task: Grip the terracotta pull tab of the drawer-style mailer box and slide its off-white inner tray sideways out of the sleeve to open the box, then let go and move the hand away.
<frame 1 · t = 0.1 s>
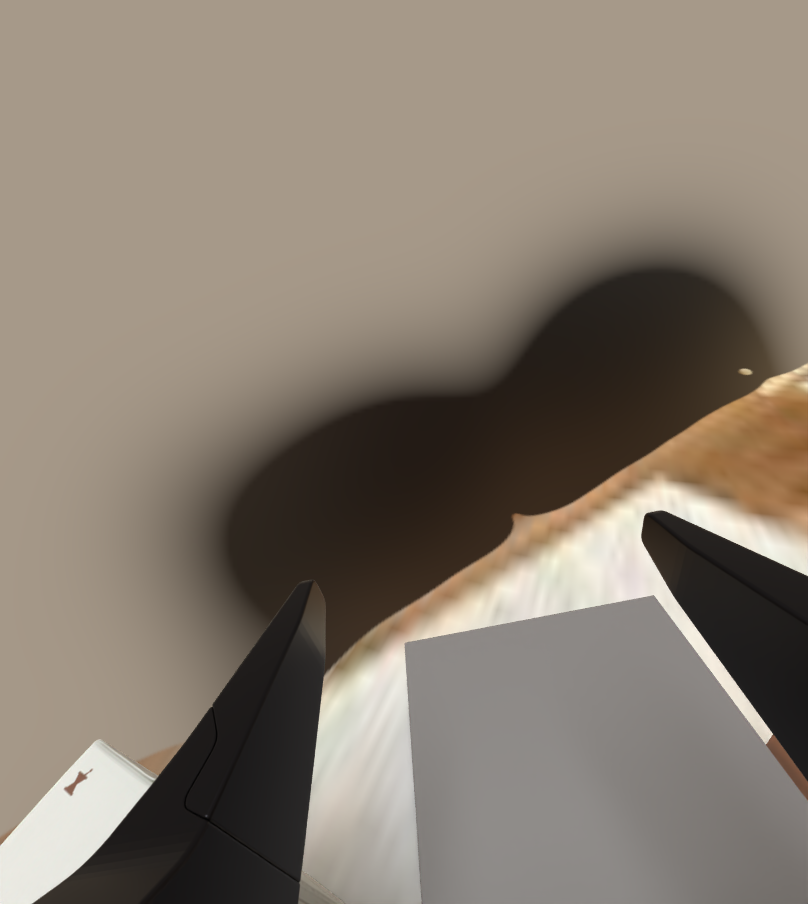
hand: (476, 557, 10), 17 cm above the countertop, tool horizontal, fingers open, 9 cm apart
mailer sleeve: (587, 843, 17), on the countertop
tray: (645, 800, 14), point 5 cm above the countertop, slide at 0.0 cm
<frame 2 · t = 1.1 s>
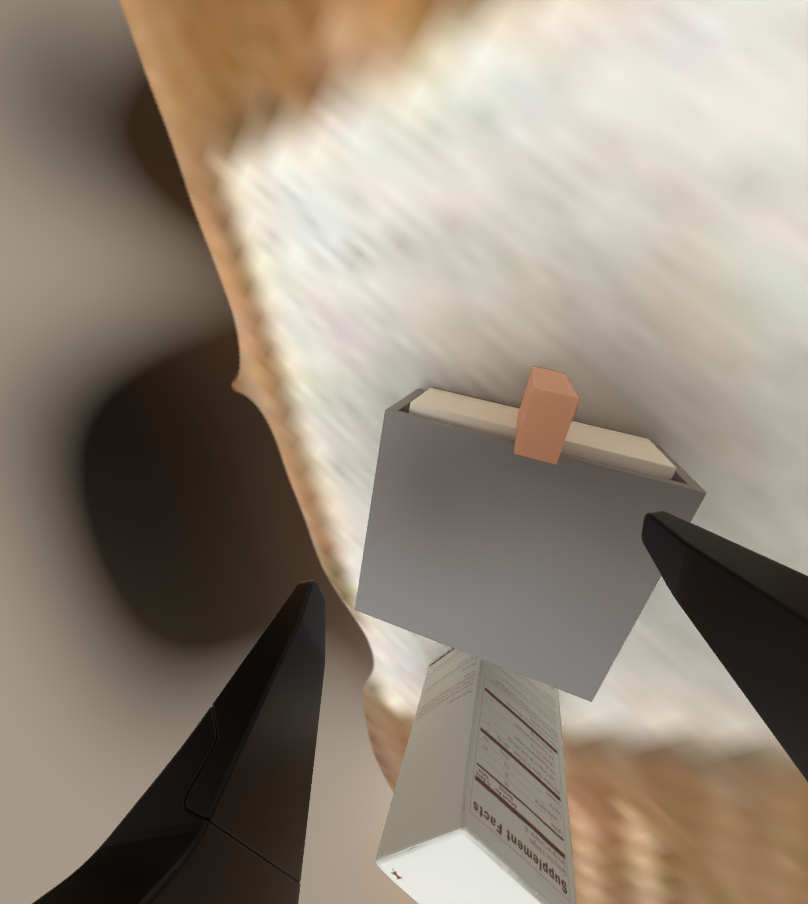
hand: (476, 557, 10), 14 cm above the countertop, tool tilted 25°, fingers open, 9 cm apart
mailer sleeve: (501, 509, 25), on the countertop
supplement box: (490, 674, 30), on the countertop
tray: (505, 517, 20), point 5 cm above the countertop, slide at 0.0 cm
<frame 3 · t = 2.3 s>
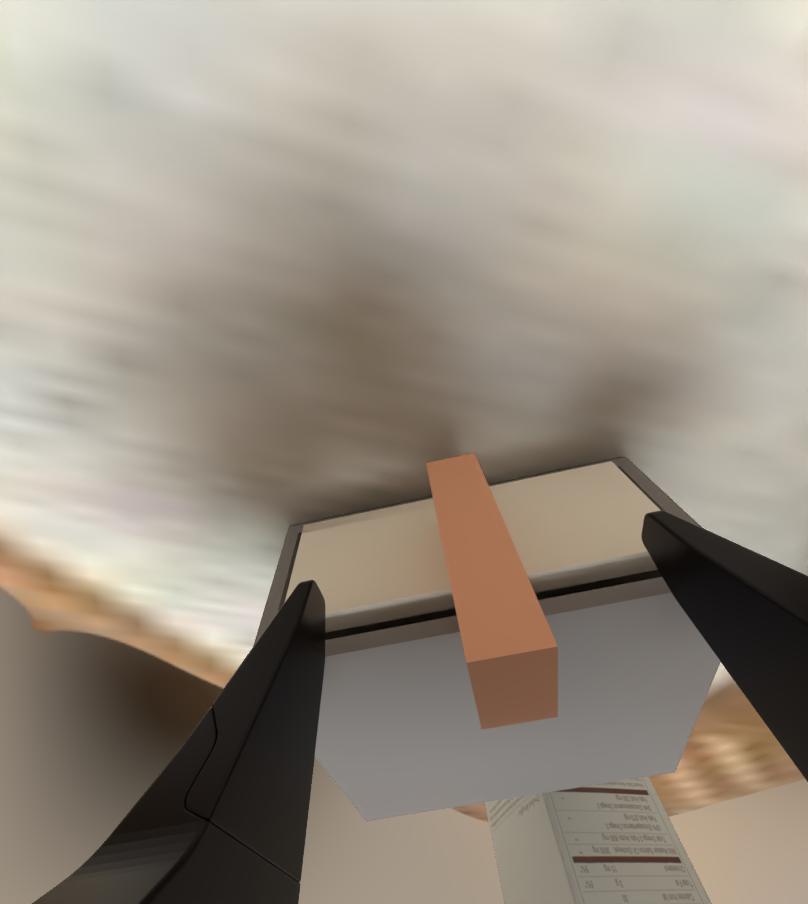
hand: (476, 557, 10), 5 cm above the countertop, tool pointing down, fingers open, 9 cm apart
mailer sleeve: (471, 593, 19), on the countertop
supplement box: (537, 715, 26), on the countertop
tray: (491, 662, 14), point 5 cm above the countertop, slide at 0.0 cm
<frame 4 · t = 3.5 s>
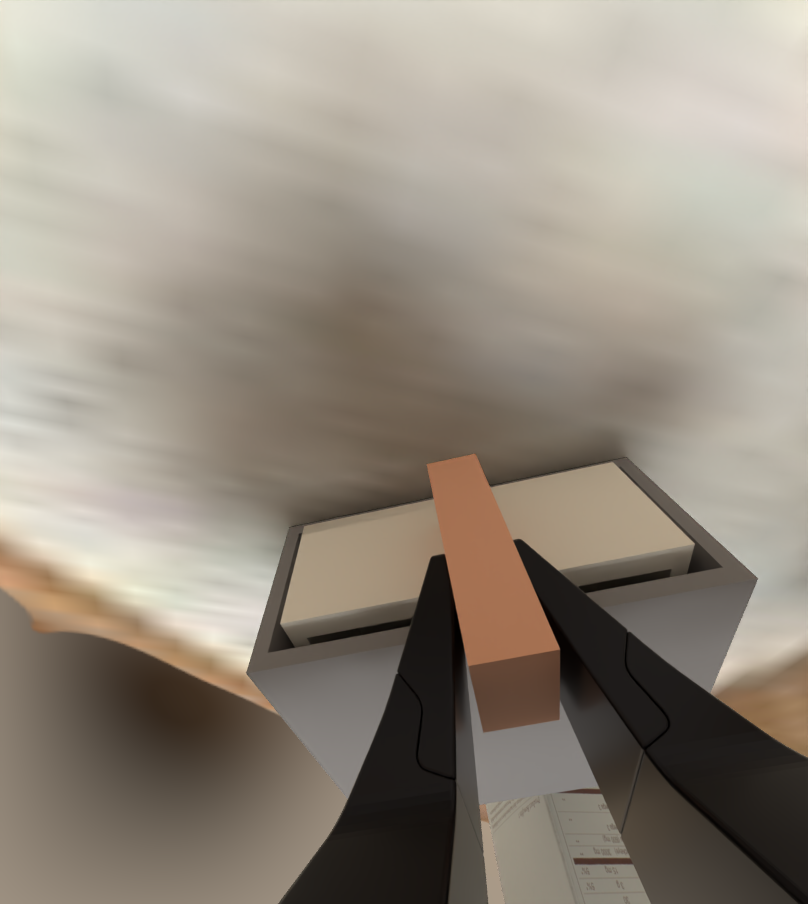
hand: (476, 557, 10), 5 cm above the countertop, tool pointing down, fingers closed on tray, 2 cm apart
mailer sleeve: (472, 594, 19), on the countertop
supplement box: (538, 715, 26), on the countertop
tray: (492, 664, 14), point 5 cm above the countertop, slide at 0.0 cm, touching gripper
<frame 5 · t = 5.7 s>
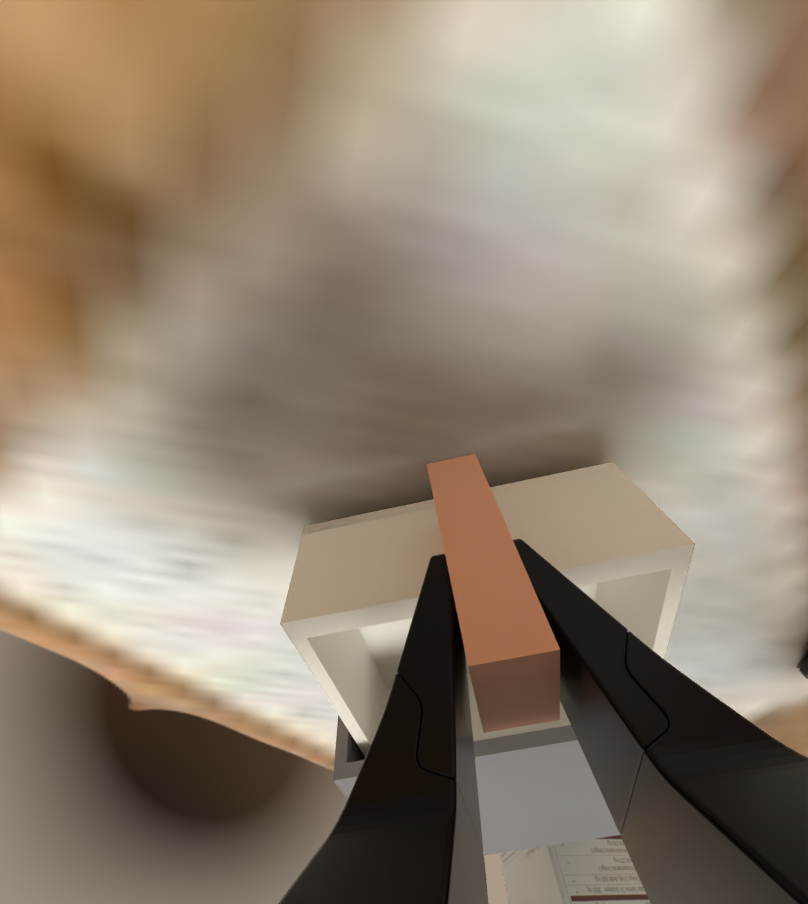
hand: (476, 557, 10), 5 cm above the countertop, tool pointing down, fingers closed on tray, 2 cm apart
mailer sleeve: (487, 677, 23), on the countertop
supplement box: (540, 761, 30), on the countertop
tray: (492, 664, 14), point 5 cm above the countertop, slide at 7.9 cm, touching gripper
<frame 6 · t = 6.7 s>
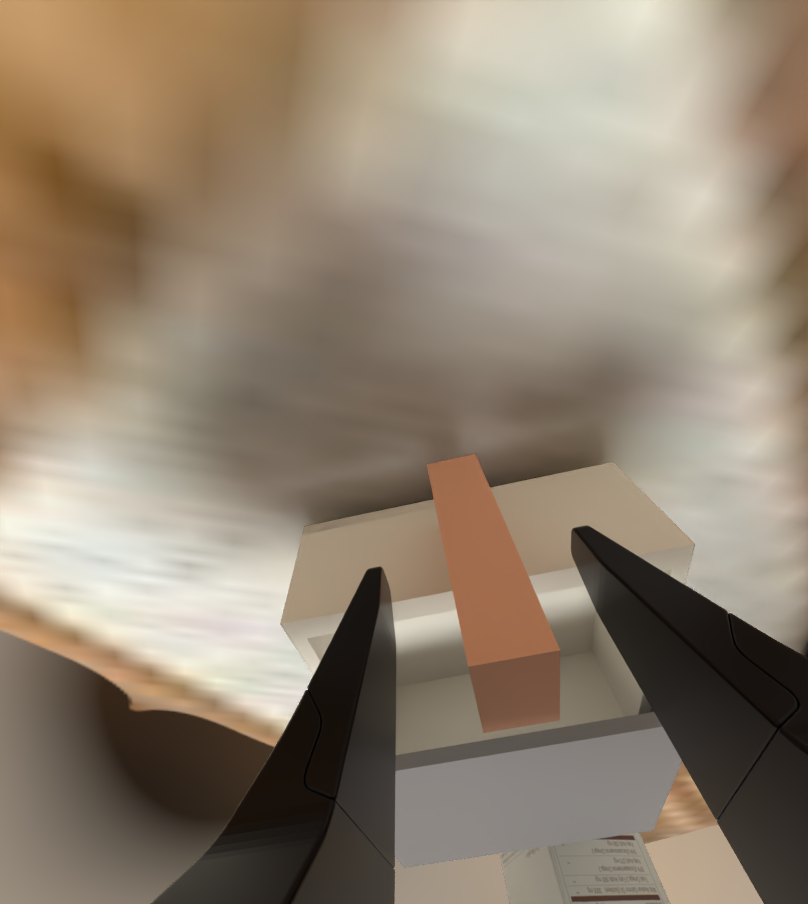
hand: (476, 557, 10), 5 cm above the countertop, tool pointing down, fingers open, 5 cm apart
mailer sleeve: (487, 678, 23), on the countertop
supplement box: (541, 762, 30), on the countertop
tray: (492, 664, 14), point 5 cm above the countertop, slide at 8.0 cm
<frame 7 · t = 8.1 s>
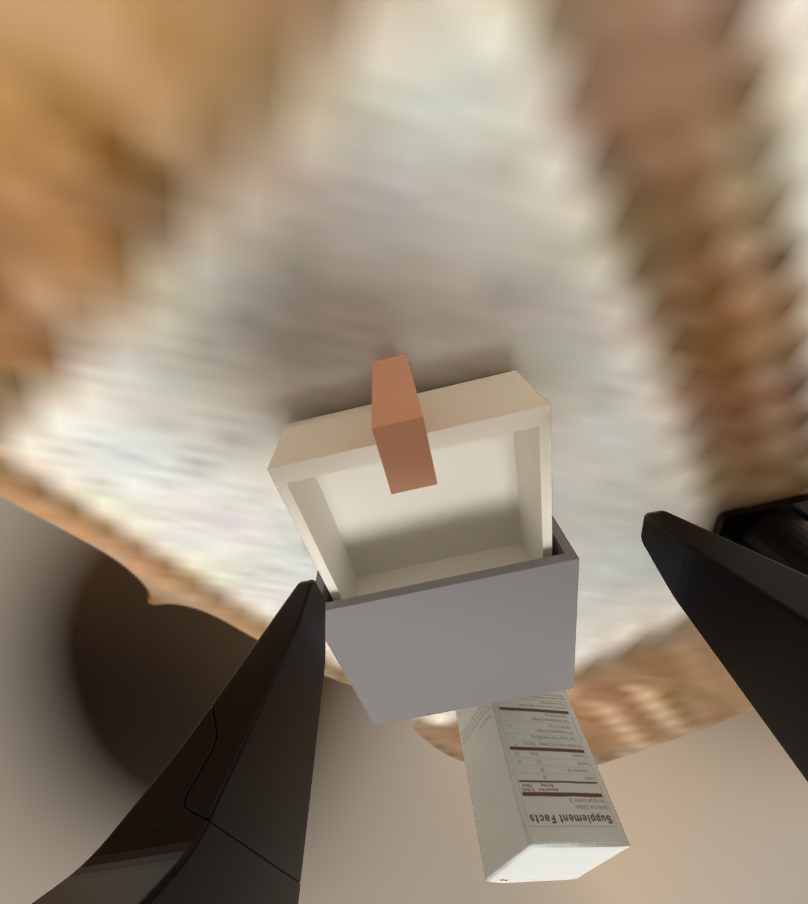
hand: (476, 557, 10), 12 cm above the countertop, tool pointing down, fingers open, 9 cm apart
mailer sleeve: (443, 576, 28), on the countertop
supplement box: (498, 668, 35), on the countertop
tray: (426, 517, 19), point 5 cm above the countertop, slide at 8.0 cm
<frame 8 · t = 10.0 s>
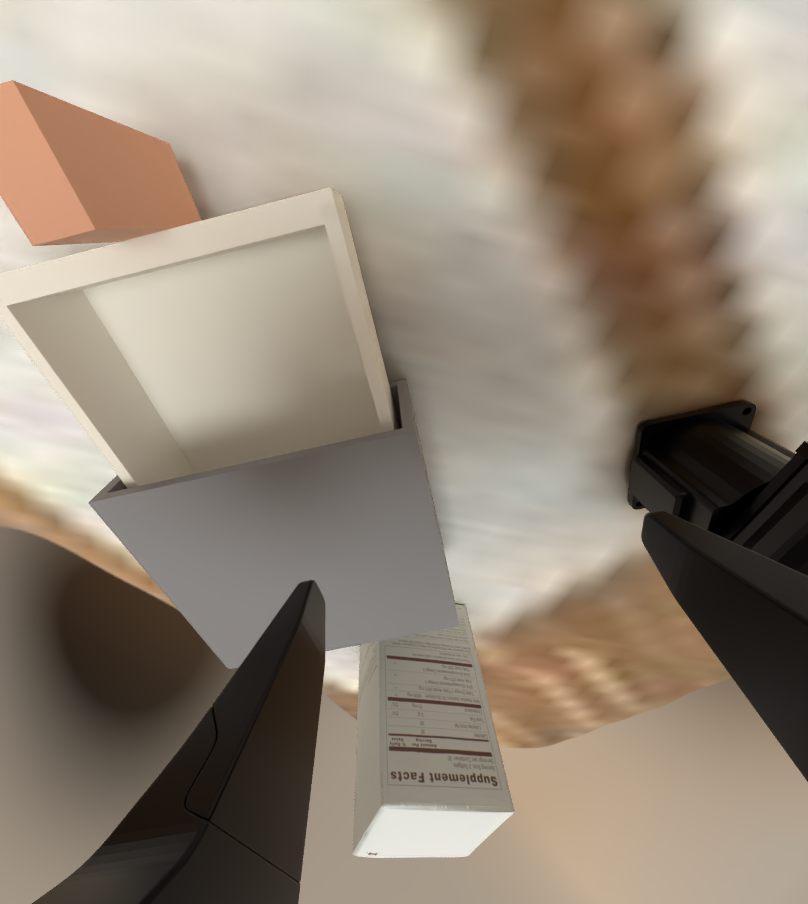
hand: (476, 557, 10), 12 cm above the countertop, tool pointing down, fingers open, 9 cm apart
mailer sleeve: (319, 499, 24), on the countertop
supplement box: (411, 623, 31), on the countertop
tray: (220, 375, 15), point 5 cm above the countertop, slide at 8.0 cm
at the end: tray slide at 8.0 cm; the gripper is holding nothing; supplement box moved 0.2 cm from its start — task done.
